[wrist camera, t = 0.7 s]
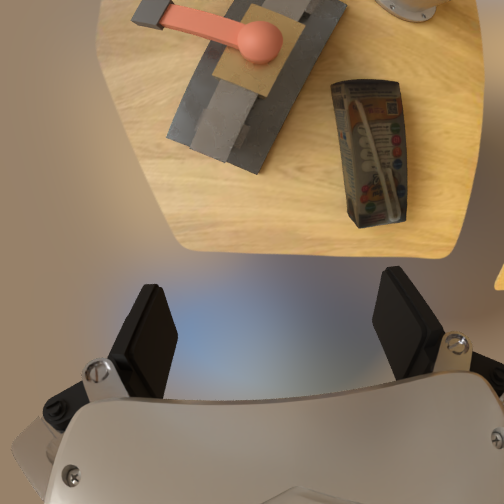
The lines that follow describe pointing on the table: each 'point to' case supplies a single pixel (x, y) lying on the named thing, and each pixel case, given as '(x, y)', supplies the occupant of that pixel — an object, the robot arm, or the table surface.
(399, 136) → the beverage carton
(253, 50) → the lever
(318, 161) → the table surface
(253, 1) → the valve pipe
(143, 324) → the robot arm
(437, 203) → the table surface
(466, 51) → the table surface
